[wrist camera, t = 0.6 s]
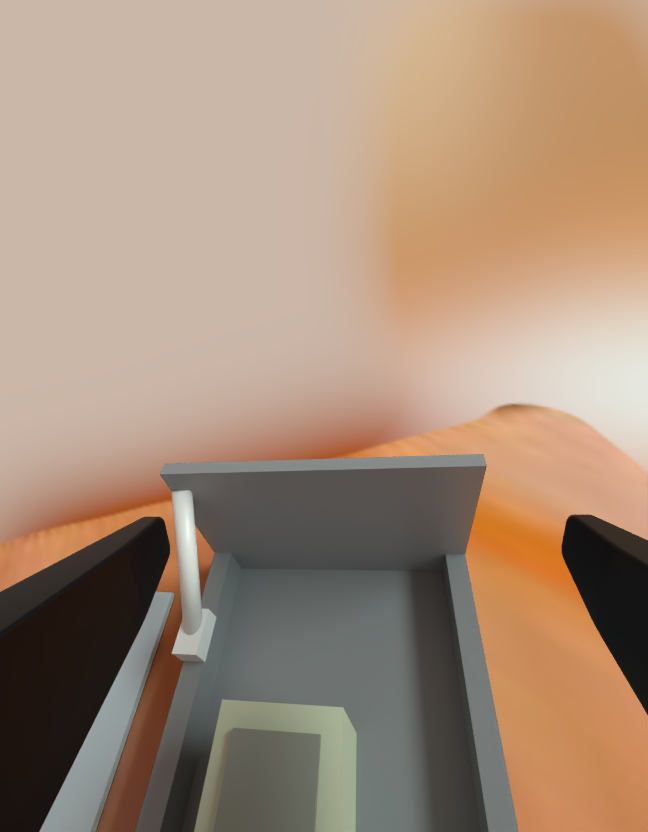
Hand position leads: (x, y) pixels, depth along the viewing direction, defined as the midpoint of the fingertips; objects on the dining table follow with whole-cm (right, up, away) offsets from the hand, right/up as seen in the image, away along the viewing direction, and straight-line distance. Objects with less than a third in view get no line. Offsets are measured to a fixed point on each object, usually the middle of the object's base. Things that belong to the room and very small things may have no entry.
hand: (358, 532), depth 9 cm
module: (-2, -14, +7) cm, 16 cm away
